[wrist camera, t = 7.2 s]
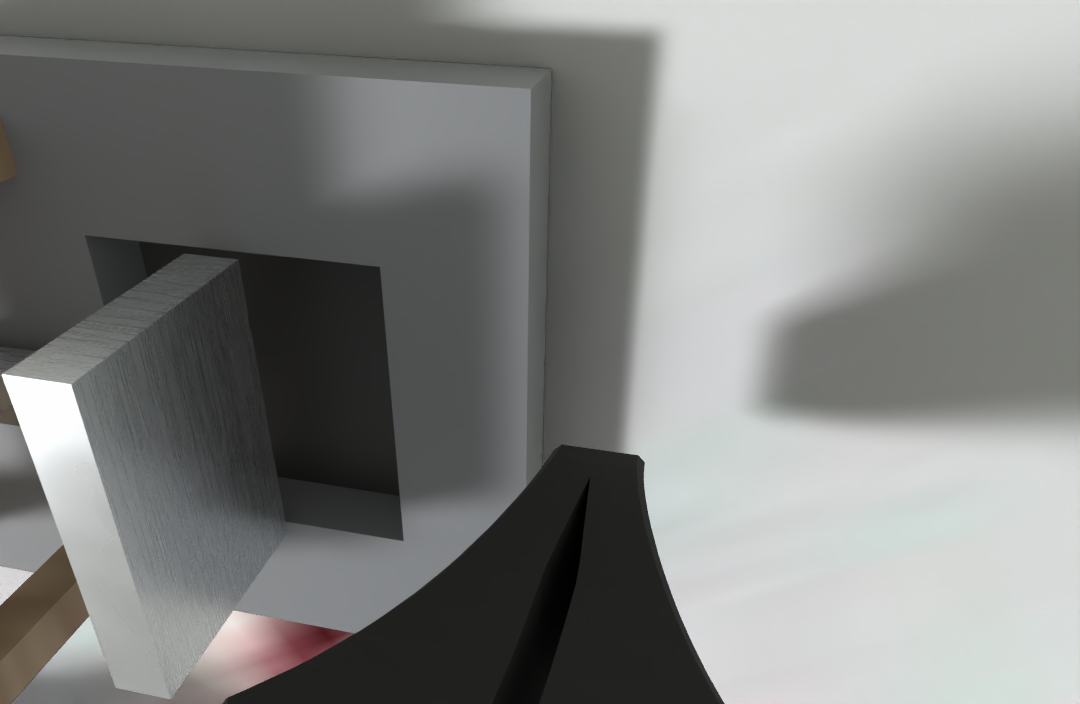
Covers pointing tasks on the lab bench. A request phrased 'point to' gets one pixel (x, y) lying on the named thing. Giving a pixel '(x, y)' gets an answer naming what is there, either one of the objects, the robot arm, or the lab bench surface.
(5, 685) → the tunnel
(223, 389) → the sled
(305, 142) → the deck
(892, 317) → the lab bench surface
